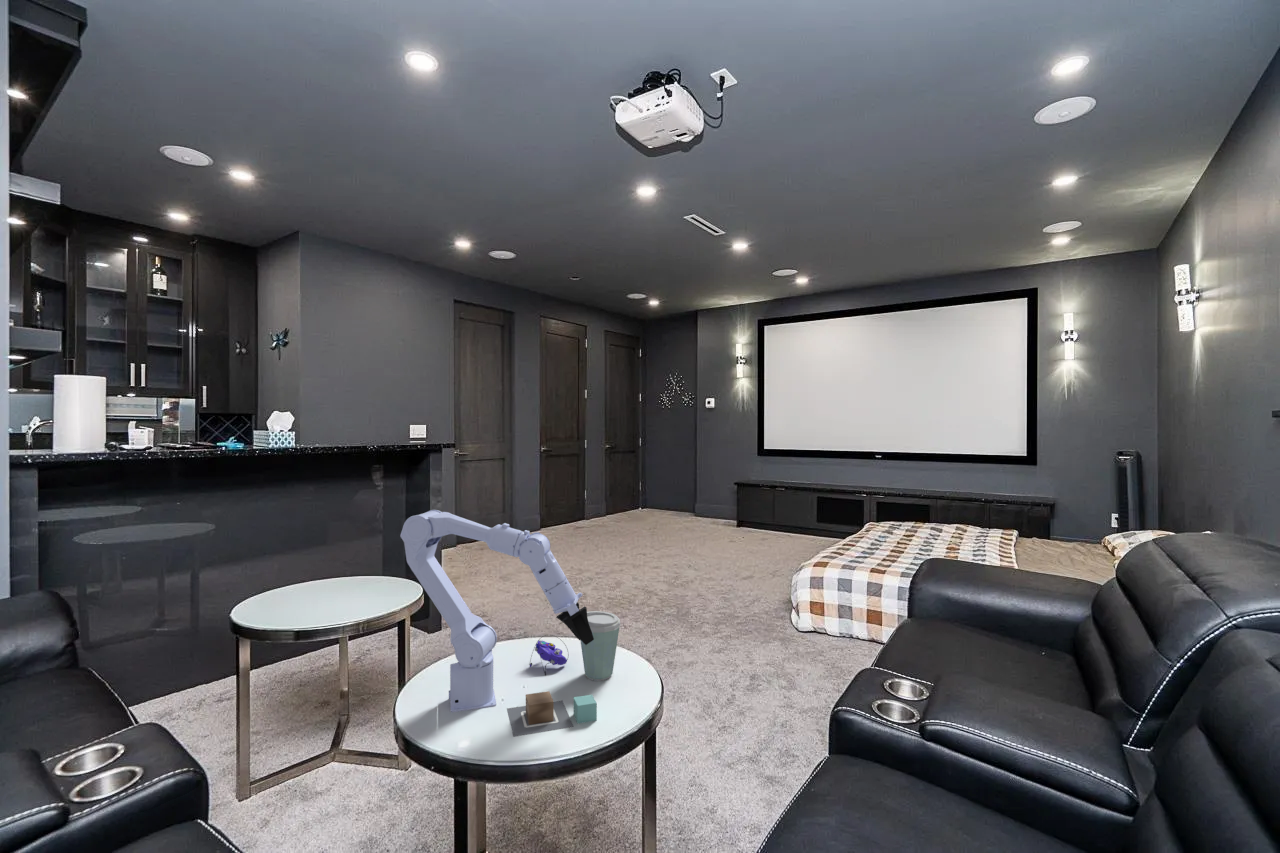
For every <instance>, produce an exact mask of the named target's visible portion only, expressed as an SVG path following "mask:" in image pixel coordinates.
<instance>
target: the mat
mask: <svg viewBox="0 0 1280 853" xmlns="http://www.w3.org/2000/svg"><path fill="white" fill-rule="evenodd" d="M553 701H554V721H551V722H544V723H538V724H532V725H529V723H528V720H527V716H526V705H521V706H516V707H514V706H513V707H509V708H508V707H507V708H506V710H507V715H508V720H509V725H510V728H511V732H512V737H519V736H525V735H533V734H539V733H544V732H551V731H556V730H562V729H568V728H569V729H570V728H574V724H573V721H572V719H571V717H570V715H569V712H568V710H567V707H566V705H565V704H564V701H563V699H562V700H557V701H555V700H553Z"/></svg>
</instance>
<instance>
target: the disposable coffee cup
mask: <svg viewBox="0 0 1280 853" xmlns="http://www.w3.org/2000/svg"><path fill="white" fill-rule="evenodd" d="M587 618H588V622H589V626H590V628H591V631H592V634H593V638H594V640H593V641H591V642H590V643H588V644H587V645H585V644H584V643H583V642H582V641H581V640H579V641H580V647H581V654H582V663H583V670H584V675H585V677H586V678H587V679H588V680H591V681H605V680H608V679H609V678H611V677H612V675H613V674H614V673H613V672H614V666H615V659H616V653H617V645H618V640H619V632H620V628H621V619H620V618H619V616H617V615H616V614H614V613H612V612H608V611H600V610H591V611H587Z"/></svg>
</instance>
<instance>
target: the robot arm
mask: <svg viewBox="0 0 1280 853" xmlns="http://www.w3.org/2000/svg"><path fill="white" fill-rule="evenodd" d="M530 533H531V532H530V530H527V529H525V530H524V531H523V530H520V529H517V528H513V527H511V526H510V524H509V523H506V522H504V523H502V524H496V525H495V526H493V527H489V526H487V525H485V524H481V523H478V522H475V521H473V520H470V519H467V518H464V517H461V516H458V515H456V514H452V513H451V512H448V511H441V510H438V509H430V510H428V511H426V512H424V513H420V514H416V515H412V516H410V517H408V518H407V519H406V520H405V521H404V523H403V526H402V530H401V532H400V539H402V541H403V544H404V550H405V551H404V553H405V558H406V559H405V560H406V563H407V565H408V566H409V568H410V570H411V572H412V573H413V574H414V576H415V577H416V579H417V580H418V582H419V583H420V585H421V587H422V589H424V591H425V592H426V594H427V596H428V597H429V598H430V599H431V602H432V603H433V604H434V606H435V607H436V609H437V610H438V612H439V613H440V615H441V617H442V618H443V619H444V621H445V623H446V624H447V626H448V627H449V629H450V641H449V642H450V644H451V645H452V646H453V649H454V656H455V658H456V661H457V662H454V663H451V664H450V665H449V666H450V667H449V669H450V671H449V674H450V675H449V679H450V680H449V681H450V682H449V690H448V700H450V703H449V704H450V713H457V712H464V711H471V710H472V711H473V710H478V709H486V708H493V707H496V706H497V699H496V694H495V690H494V655H493V649H494V648H495V646H496V644H497V641H498V636H497V632H496V631H495V629H494V628H493V627H492V626H491V625H489V624H487V623H486V622H485V621H484V620H483V618H482V617H481V616H478V615H476V614H474V613H472V610H471V609H470V608H469V607H468V605H467V603H466V602H465V600H464V599H463V597H462V596H461V594H460V593H459V591H458V590H457V588H456V587H455V586H454V583H453V582H452V581H451V579H450V577H449V576H448V574H447V573H446V571H445V570H444V568H443V567H442V565H441V564H440V563H439V562H438V559H437V558H436V557H435V554H436V551H437V548H438V544H439V542H440V541H441V539H442V538H443V537H444V536H447V535H455V536H459V537H463V538H468V539H471V540H474V541H475V540H476V541H479V542H484V543H485V544H486V545H487V547H488V549H490V551H494V552H496V553H497V552H498V553H501V554H504V555H508V556H511V557H514V558H518V559H519V561H520V562H521V563H522V564H524V565H526V566H528V567H529V568H530V570H531V572H532V573H533V576H534V578H535V579H536V581H537V583H538V585H539V586H540V589H541V590H542V592H543V594H544V595H545V597H546V599H547V601H548V603H549V605H550V606H551V608H552V609H553V610H552V611H553V614H555V615H557V614H558V615H557V616H556V619H557V620H560V621H561V623H563V624H564V625H565V626H566V627H567V628H568V629H569V630H570V631H571V633H572V634H573V635H574V636H575V638H576V639H577V640H578V641H580V640H581V641H582V642H583V643H584V644H585V645H587V644H588V643H590V642H591V641H593V640H594V638H593V634H592V631H591V628H590V626H589V622H588V618H587V612H588V609H587V606H583V607H581V608H580V603H579V602H578V601H579V599H580V598H581V597H583V593H582V592H578V593H577V594H576V592H575V590H574V589H573V586H572V585H571V584H570V581H569V580H568V578H567V576H566V574H565V573H564V571H563V568H562V567H561V566H560V564H559V561H557V559H556V557H555V555H554V554H553V552H552V550H551V542H550V540H549V538H548V536H546V535H545V534H543V533H540V532H533V533H531V534H530ZM581 641H580V642H581Z"/></svg>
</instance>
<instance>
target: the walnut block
mask: <svg viewBox="0 0 1280 853" xmlns="http://www.w3.org/2000/svg"><path fill="white" fill-rule="evenodd" d="M554 701H555V700H553V697H552V694H551V692H550V690H548V691H547V690H546V691H541V692H535V693H527V694H526V693H525V706H526V716H527V720H528V723H529V725H532V724H538V723H544V722H551V721H554Z"/></svg>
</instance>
